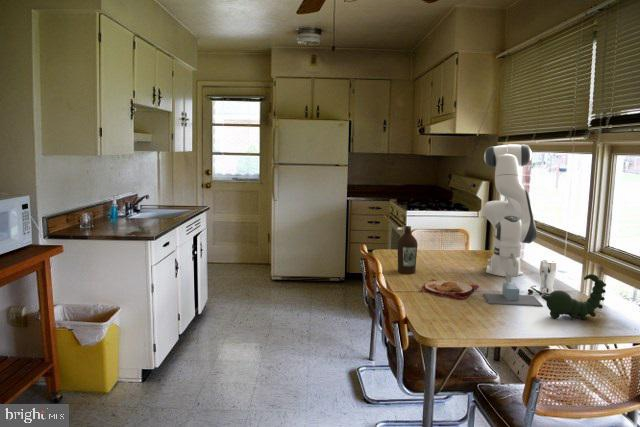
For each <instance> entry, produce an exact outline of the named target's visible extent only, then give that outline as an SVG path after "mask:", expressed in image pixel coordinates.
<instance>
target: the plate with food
mask: <svg viewBox="0 0 640 427" xmlns="http://www.w3.org/2000/svg"><path fill="white" fill-rule="evenodd" d="M479 287H480V285H479V284H469V283H465V282H462V281H454V280H437V279H430V281H429V282H426V283H424V284H423V285H422V286H421V288H419V287H418V289H420V290H418V293H422V294H423V293H425V294H427V293H428V294H430V295H431V296H432V294H433V295H434V296H435V297H436V296H437V297H439V298H440V297H442V296H444V295H446V297H447V298H449V299H453V300H455V299H458V300H460V299H461V300H465V299H467V298H469V296H470V295H472V294H473V293H474V292H475V291H476V290H477V289H478V288H479ZM442 298H443V297H442Z"/></svg>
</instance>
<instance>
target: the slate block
mask: <svg viewBox="0 0 640 427" xmlns="http://www.w3.org/2000/svg"><path fill="white" fill-rule="evenodd" d="M501 290H502V291H501V294H503V295H504V297H505V298H506V299H507V300H519V295H520V288H519V287H518V286H517V285H516V284H515V283H514V282H511V283H508V282H502V288H501Z"/></svg>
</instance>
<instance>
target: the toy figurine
mask: <svg viewBox="0 0 640 427" xmlns="http://www.w3.org/2000/svg"><path fill="white" fill-rule="evenodd" d="M589 279H590V280H591V281H592V282H594V283H593V284H594V286H592V288H591V291H592V292H590V294H589V297H588V298H587V299H586V301H582V300H581V301H578V300H577V299H575V298H573V297H572V296H571V295H570V294H569V293H567V292H566V291H564V290H558V289H557V290H553V292H551V293H550V294H547V295H542V296H540V298H541V299H542V300H544V301H545V303H546V307H547V309H548V310H549V315H550V317H551V318H552V319H555V320H556V319H559V318H560V317H561V315H565V316H568V317H569V318H570V319H572V320H575V319H577V318H580V319H581V320H583V321H585V320H587V315H589V316H590V317H591V318H595V317H596V316H597V314H596V312H595V310H596V309H597V308H598V309H603V308H604V306H603V305H602V304H601V303H600V301H605V299H606V298H605V297H604V296H603V295H602V294H606V293H607V292H606V289H604V287H607V283H605V281H604V280H602V279H599V277H598V275H596V274H594V273H589V274H587V275H585V276H584V277H583V280H584V281H586V280H589Z"/></svg>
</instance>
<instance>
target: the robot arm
mask: <svg viewBox="0 0 640 427" xmlns="http://www.w3.org/2000/svg"><path fill="white" fill-rule="evenodd" d="M530 147H531V146H529V145H528V144H523V143H522V144H503V145H496V146H492V145H491V146H489V147H487V148H486V149H485V151H484V155H483V160H484V162H485V165H486V166H488V167H489V168H492V169H493V168H494V169H495V172H494V184H495V185H494V186H495V188H496V191H497V193H498V194H500V195H501V196H503V197H504V198H505V199H506V200H491V201H490V200H488V201H487V202H485V204H484V205H483V208H482V212H483V216H484V218H485V219H486V220H487V221H489V222H490V224H491V225H492V227H493V230H494V238H495V240H494V242H495V243H494V248H493V254H492V256H491V258H489V259H487V264H488V265H486V269H485V270H486V271H485V272H486V273H487V274H491V275H494V276H500V277H505V282H506V283H512V279H513V278H517V277H518V276H522V275H524V272H523V271H521V259H520V257H521V249H522V244H531V243H533V242H534V241H535V240H537V237H538V230H537V226H536V222H535V219H534V216H535V210H534V207H533V205H532V203H531V199H530V194H529V191H528V189H527V188H526V187H524V186H523V184H522V182H521V175H520V173H521V172H520V168H521V167H525V166H528V165H529V164H530V163H531V160H532V158H533V153H532V150H531V148H530Z"/></svg>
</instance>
